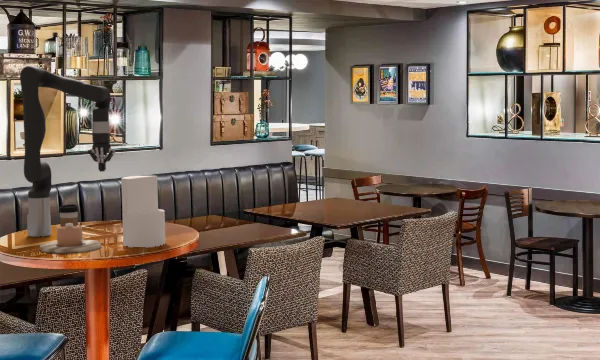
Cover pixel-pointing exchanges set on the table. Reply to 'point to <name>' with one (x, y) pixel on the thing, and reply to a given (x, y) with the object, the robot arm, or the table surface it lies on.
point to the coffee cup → (68, 215)
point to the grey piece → (142, 212)
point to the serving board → (86, 246)
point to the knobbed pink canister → (69, 235)
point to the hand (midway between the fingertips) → (102, 171)
